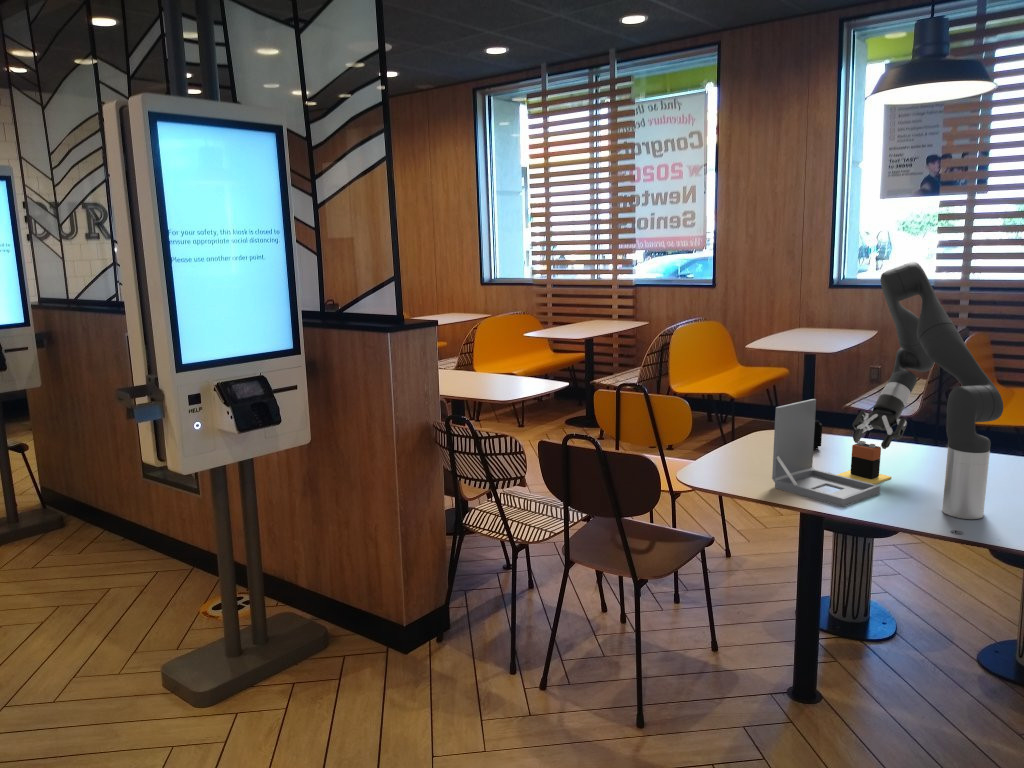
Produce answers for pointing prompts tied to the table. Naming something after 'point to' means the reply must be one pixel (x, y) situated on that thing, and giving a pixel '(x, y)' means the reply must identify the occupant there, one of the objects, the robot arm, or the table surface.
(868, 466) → the battery
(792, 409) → the equipment case
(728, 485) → the table surface
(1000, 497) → the table surface
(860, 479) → the yellow sticky note
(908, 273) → the robot arm
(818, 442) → the cpu cooler
